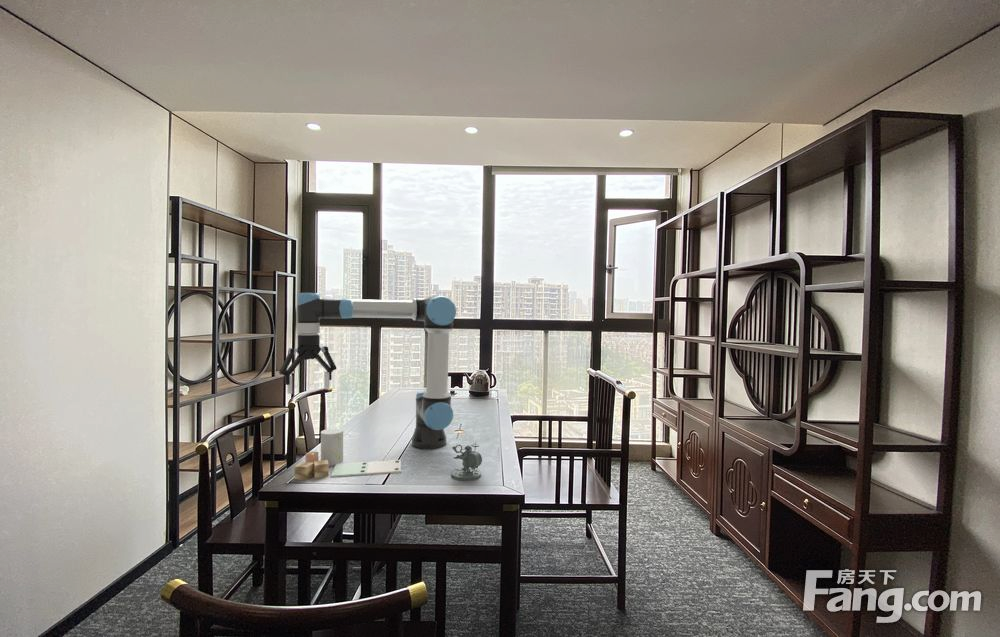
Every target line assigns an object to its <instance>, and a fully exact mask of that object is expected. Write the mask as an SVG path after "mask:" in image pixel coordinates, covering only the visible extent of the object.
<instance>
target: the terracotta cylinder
mask: <svg viewBox="0 0 1000 637" xmlns="http://www.w3.org/2000/svg"><path fill="white" fill-rule="evenodd" d="M304 455H305V458H304V460H305V461H304V462H310V463H314V461H319V452H318V451H308V452H306V453H305V454H304Z"/></svg>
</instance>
